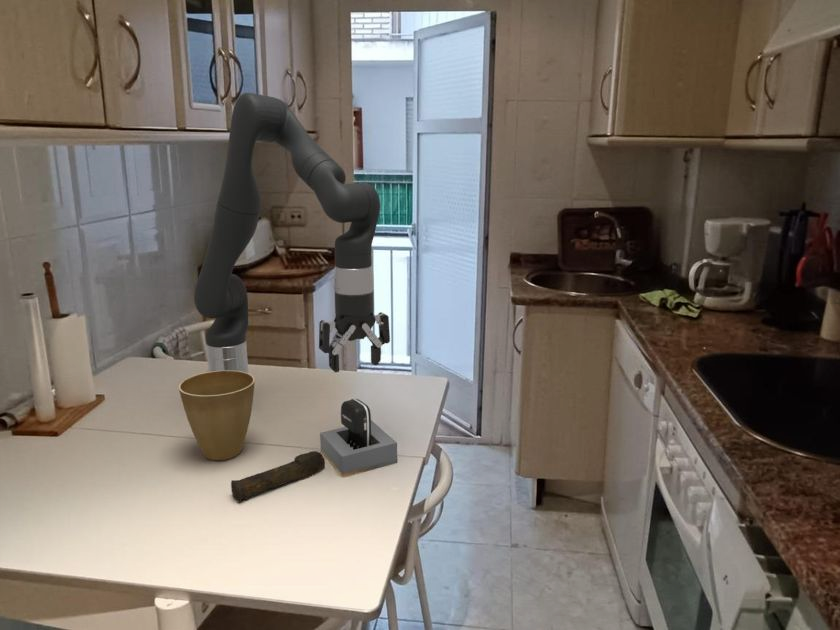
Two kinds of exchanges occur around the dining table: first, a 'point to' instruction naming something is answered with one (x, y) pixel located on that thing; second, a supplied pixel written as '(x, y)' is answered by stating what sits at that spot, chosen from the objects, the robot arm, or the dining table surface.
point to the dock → (358, 451)
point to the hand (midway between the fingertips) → (355, 367)
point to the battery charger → (357, 423)
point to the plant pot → (219, 410)
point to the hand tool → (278, 475)
